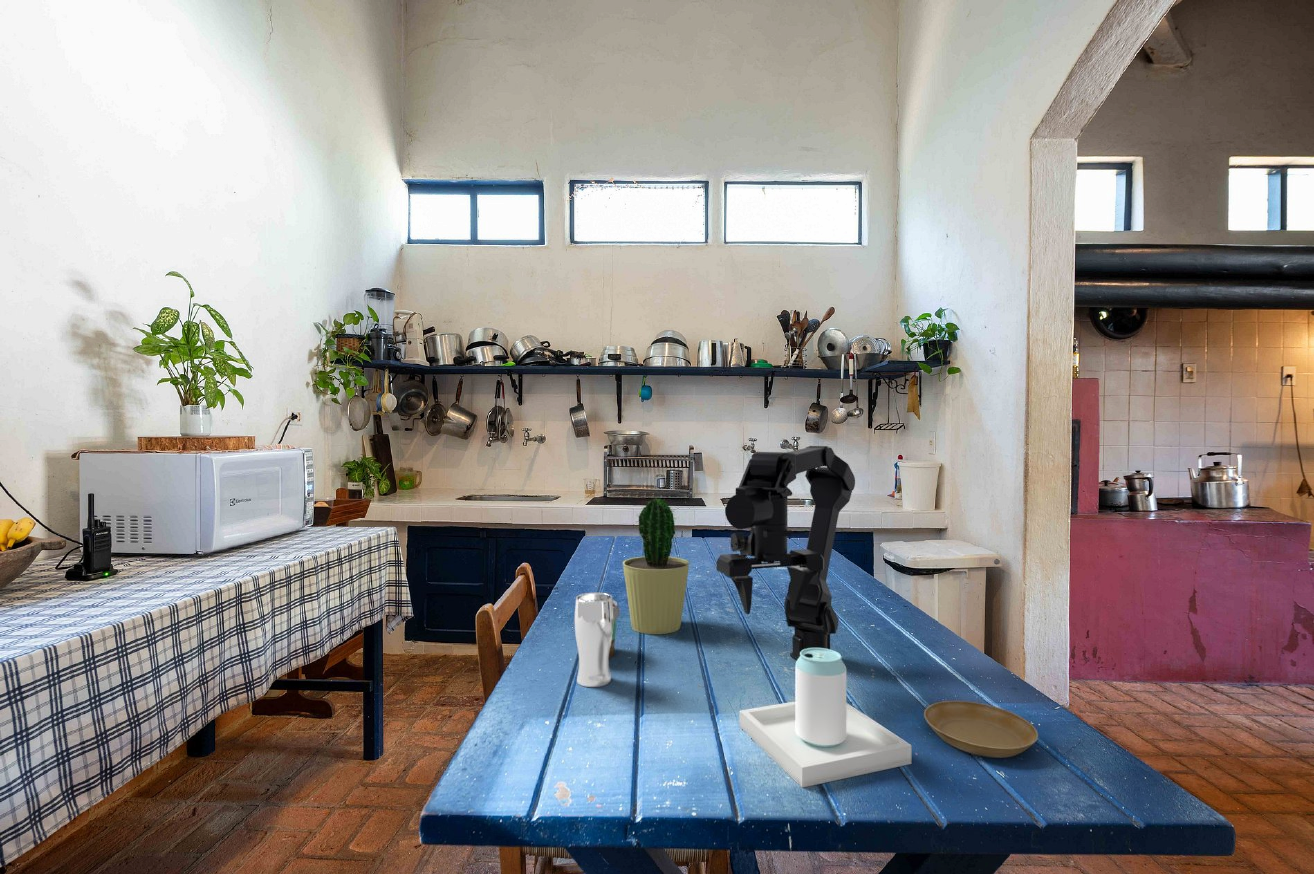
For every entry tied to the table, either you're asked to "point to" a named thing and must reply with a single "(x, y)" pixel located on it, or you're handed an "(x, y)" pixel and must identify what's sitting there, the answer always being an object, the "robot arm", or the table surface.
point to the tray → (815, 765)
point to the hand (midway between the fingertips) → (770, 611)
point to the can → (820, 697)
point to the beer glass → (594, 637)
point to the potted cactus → (656, 574)
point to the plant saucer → (980, 728)
